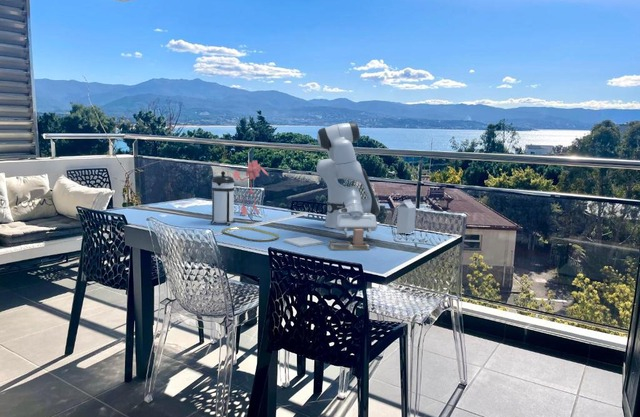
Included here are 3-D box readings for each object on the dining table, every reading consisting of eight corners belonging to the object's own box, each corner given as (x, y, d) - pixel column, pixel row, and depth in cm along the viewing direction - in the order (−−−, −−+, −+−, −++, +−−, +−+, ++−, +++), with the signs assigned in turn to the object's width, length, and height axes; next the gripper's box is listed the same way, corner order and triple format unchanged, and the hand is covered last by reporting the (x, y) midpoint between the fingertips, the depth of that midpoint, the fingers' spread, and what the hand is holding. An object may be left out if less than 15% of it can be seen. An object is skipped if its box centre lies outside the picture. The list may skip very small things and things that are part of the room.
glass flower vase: (229, 215, 308) (230, 159, 302) (259, 211, 327) (261, 159, 321) (245, 219, 298) (247, 162, 292) (276, 215, 318) (278, 161, 312)
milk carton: (414, 233, 274) (416, 200, 271) (407, 235, 269) (409, 201, 266) (403, 231, 279) (405, 198, 276) (396, 233, 273) (398, 199, 270)
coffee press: (242, 224, 281) (242, 172, 277) (215, 226, 272) (215, 172, 268) (229, 219, 295) (229, 169, 291) (203, 221, 286) (203, 170, 282)
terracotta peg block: (352, 246, 237) (353, 228, 236) (360, 246, 238) (361, 228, 236) (354, 248, 233) (355, 230, 232) (362, 248, 234) (363, 230, 233)
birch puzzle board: (328, 245, 238) (328, 238, 237) (364, 245, 241) (364, 238, 240) (331, 250, 229) (331, 243, 228) (369, 250, 232) (369, 242, 231)
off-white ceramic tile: (305, 238, 252) (305, 236, 252) (323, 243, 241) (323, 241, 241) (283, 241, 243) (283, 239, 243) (300, 247, 232) (300, 245, 232)
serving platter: (258, 244, 237) (258, 241, 237) (215, 232, 260) (215, 229, 260) (286, 239, 251) (286, 236, 250) (243, 228, 274) (243, 225, 274)
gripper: (373, 217, 246) (377, 240, 238) (333, 217, 243) (336, 240, 235) (376, 210, 241) (381, 233, 233) (335, 209, 238) (338, 233, 230)
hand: (358, 237), depth 234 cm, fingers open, 8 cm apart
